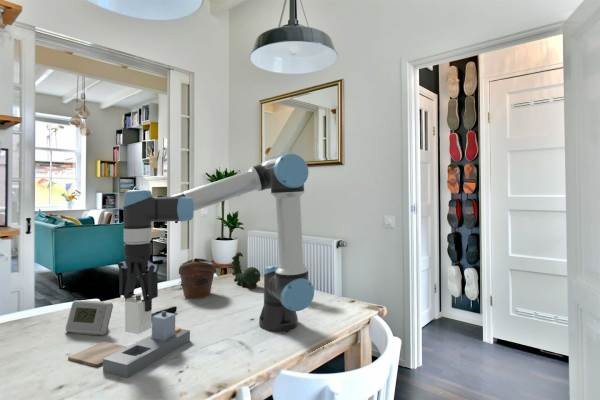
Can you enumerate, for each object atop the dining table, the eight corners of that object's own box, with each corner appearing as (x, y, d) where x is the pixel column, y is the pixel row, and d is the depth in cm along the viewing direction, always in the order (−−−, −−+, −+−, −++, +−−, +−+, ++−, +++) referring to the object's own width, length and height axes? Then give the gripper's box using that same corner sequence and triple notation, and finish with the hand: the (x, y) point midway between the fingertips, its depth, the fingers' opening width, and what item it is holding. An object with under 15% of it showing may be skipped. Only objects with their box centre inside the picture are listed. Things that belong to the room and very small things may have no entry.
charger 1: (151, 327, 103) (151, 294, 103) (138, 334, 99) (138, 298, 98) (138, 325, 105) (138, 292, 105) (125, 331, 100) (124, 297, 100)
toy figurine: (228, 285, 196) (253, 291, 177) (227, 252, 197) (251, 254, 178) (242, 283, 202) (267, 288, 184) (241, 250, 203) (266, 252, 185)
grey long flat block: (189, 340, 117) (190, 328, 117) (127, 377, 93) (127, 362, 93) (168, 336, 121) (169, 324, 121) (102, 371, 96) (103, 356, 96)
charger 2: (175, 341, 113) (175, 310, 113) (164, 347, 109) (164, 315, 109) (163, 338, 115) (163, 308, 115) (151, 344, 111) (152, 312, 110)
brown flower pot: (198, 287, 185) (199, 254, 185) (224, 294, 174) (224, 258, 173) (169, 295, 171) (169, 259, 170) (194, 303, 159) (194, 264, 159)
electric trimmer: (178, 314, 145) (179, 306, 145) (144, 324, 132) (144, 316, 132) (173, 312, 147) (173, 305, 147) (138, 322, 134) (139, 314, 134)
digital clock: (62, 332, 123) (62, 303, 122) (85, 324, 131) (86, 296, 131) (95, 340, 117) (95, 309, 117) (117, 330, 125) (118, 301, 125)
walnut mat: (131, 350, 110) (131, 347, 110) (97, 367, 98) (97, 364, 98) (103, 343, 114) (103, 341, 114) (68, 359, 103) (68, 356, 103)
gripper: (171, 242, 102) (171, 320, 102) (125, 239, 108) (126, 312, 108) (152, 245, 95) (152, 329, 95) (104, 242, 101) (105, 320, 101)
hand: (138, 320), depth 102 cm, fingers closed on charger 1, 5 cm apart
